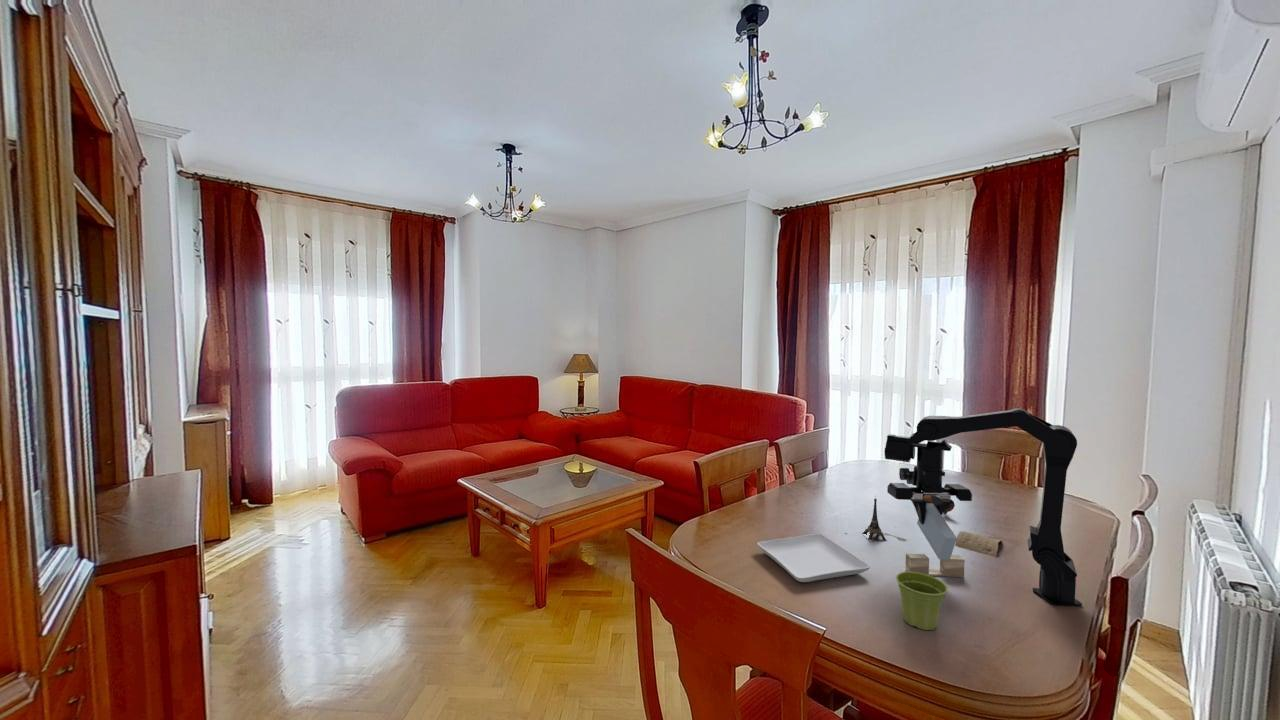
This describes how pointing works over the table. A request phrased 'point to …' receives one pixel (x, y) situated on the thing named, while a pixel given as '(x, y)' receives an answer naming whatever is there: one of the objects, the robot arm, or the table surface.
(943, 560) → the maple rail
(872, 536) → the eiffel tower figurine
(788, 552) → the salad plate
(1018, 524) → the table surface
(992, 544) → the clay tablet
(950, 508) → the pottery mug
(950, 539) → the pale blue plank
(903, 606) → the plant pot
